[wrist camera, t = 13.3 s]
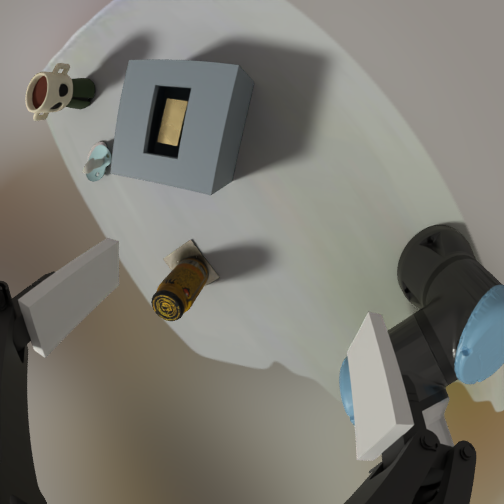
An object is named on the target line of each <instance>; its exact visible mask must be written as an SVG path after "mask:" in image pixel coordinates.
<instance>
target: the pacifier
mask: <svg viewBox="0 0 504 504" xmlns="http://www.w3.org/2000/svg"><path fill="white" fill-rule="evenodd" d="M108 155H109V156H108ZM111 161H112V156H111V153H110V151H109V150H108V148H107V146H106V144H105V143H104V142H98V143H96V144H95V145H94V146H93V147H92V149H91V150H90V152H89V155H88V159H87V163H86V165H85V166H84V168H83V173H85V174H86V176H87V178H88V179H89V180H90V181H97V180H99V179H101V178H102V177H103V175H104V173H105V169H106V166H108V165H109V164H110V163H111ZM97 172H99V176H98V177H97V176H96V173H97Z"/></svg>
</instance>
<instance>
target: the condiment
mask: <svg viewBox="0 0 504 504" xmlns="http://www.w3.org/2000/svg"><path fill="white" fill-rule="evenodd" d="M196 256H197V257H196ZM164 261H165V262H166V264H167V265H168V266H169V268H170V269H171V270H172V271H171V273H170V274H169V275H168V276H167V277H166V278H165V279H164V280H163V281H162V283H161V284H160V285H159V287H158V289H157V292H156V293H155V294H154V295H153V298H152V302H151V303H152V306H153V309H154V311H155V312H156V314H158V316H159V317H161V318H163V319H164V320H167V321H175V320H178V319H180V318H181V317H182V315H183V314H184V313H185V312H186V311H188V310H189V309H190V307H191V306H192V304H193V303H194V301H195V300H196V298H197V296H198V295H199V293H200V292H201V290H202V289H203V287H204V286H206V285H208V284H209V283H211V282H213V281H215V280H217V279H218V278H219V276H218V275H217V274H216V272H215V271H214V269H213V268H212V267H211V265H210V264H209V263H208V262H207V260H206V259H205V258H204V257H203V256H202V254H201V253H200V251H199V250H198V249H197V247H196V246H195V245H194V244H193V242H192V241H191V240H189V241H188V242H186V243H185V244H184V245H182V246H181V247H179V248H178V249H176V250H175V251H174V252H172V253H171V254H169V255H168V256H167V257H165V258H164ZM177 261H178V262H177Z"/></svg>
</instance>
